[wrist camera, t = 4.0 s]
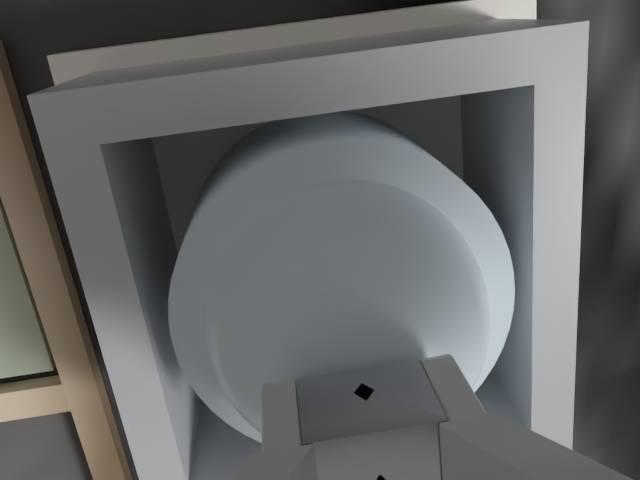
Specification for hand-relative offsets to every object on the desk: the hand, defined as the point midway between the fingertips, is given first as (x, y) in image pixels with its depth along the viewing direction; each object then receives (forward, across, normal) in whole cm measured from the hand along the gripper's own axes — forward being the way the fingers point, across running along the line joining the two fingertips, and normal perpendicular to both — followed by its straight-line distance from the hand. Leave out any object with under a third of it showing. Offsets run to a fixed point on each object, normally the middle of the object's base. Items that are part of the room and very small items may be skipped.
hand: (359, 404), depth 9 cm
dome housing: (+9, 0, +3) cm, 10 cm away
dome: (+7, 0, 0) cm, 7 cm away
